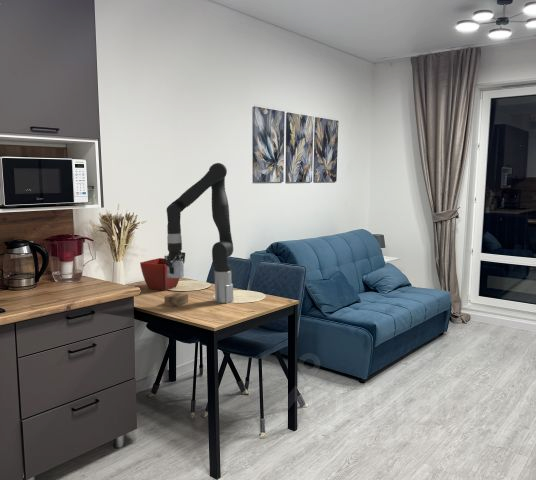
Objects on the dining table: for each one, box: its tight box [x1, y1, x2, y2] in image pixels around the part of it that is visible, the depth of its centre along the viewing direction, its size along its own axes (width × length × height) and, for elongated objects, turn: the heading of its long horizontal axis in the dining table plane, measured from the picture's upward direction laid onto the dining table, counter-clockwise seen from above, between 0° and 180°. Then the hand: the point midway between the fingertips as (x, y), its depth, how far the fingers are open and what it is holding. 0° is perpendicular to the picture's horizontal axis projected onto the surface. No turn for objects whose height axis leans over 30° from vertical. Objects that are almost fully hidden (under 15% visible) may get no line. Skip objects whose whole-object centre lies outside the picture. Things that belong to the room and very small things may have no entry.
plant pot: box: [139, 257, 183, 291], centre depth 301 cm, size 19×19×17 cm
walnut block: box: [163, 292, 189, 308], centre depth 264 cm, size 9×9×5 cm
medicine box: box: [167, 261, 185, 279], centre depth 262 cm, size 8×4×9 cm, turn 74°
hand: (175, 272), depth 262 cm, fingers closed on medicine box, 5 cm apart
